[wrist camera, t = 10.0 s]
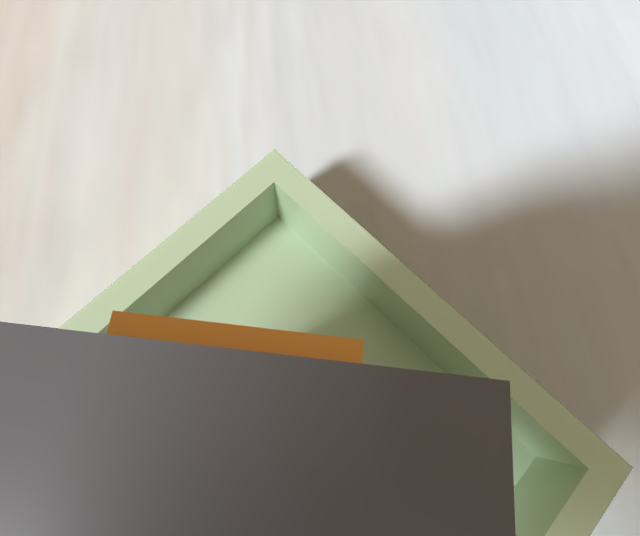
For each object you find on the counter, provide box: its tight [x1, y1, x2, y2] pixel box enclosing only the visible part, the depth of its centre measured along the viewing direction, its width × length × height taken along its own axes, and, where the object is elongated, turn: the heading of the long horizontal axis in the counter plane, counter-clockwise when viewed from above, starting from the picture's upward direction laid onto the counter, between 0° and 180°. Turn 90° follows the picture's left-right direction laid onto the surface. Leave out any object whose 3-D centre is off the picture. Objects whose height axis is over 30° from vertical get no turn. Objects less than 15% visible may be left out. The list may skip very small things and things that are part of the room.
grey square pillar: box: [0, 310, 516, 536], centre depth 8 cm, size 5×4×12 cm
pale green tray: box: [58, 150, 633, 536], centre depth 14 cm, size 16×16×4 cm
